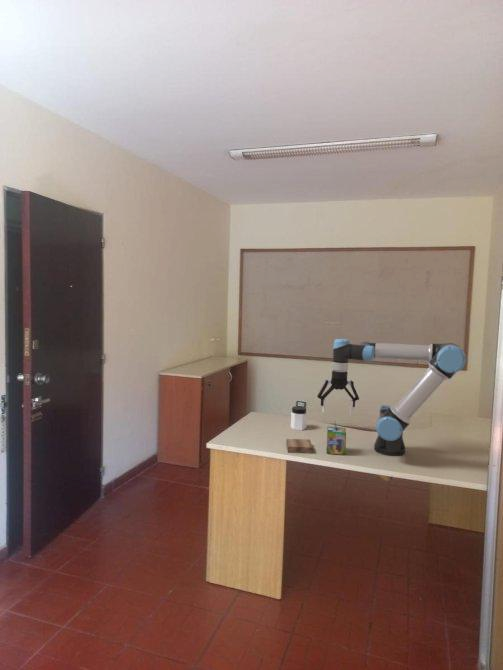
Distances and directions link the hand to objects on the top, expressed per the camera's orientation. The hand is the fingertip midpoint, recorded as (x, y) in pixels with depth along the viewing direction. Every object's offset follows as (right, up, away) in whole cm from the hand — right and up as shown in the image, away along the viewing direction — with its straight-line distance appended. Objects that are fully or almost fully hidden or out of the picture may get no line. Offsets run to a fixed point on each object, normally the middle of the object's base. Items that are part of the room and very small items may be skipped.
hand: (337, 413), depth 227 cm
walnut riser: (-18, -19, +4) cm, 27 cm away
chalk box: (0, -20, +2) cm, 20 cm away
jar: (-15, -16, +39) cm, 44 cm away
